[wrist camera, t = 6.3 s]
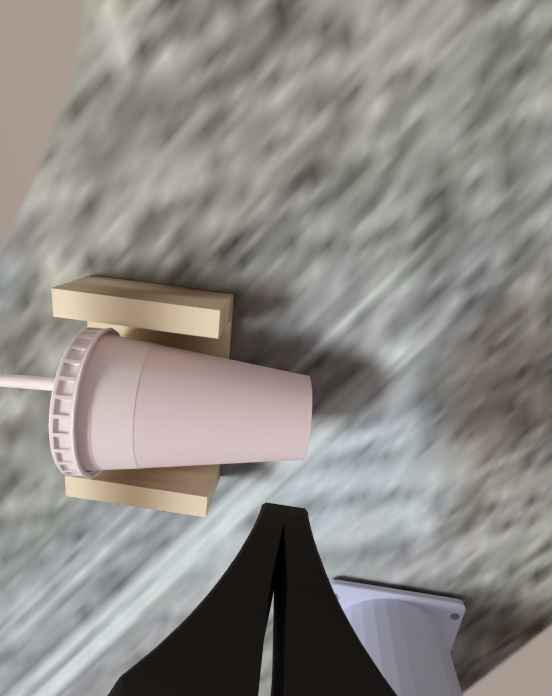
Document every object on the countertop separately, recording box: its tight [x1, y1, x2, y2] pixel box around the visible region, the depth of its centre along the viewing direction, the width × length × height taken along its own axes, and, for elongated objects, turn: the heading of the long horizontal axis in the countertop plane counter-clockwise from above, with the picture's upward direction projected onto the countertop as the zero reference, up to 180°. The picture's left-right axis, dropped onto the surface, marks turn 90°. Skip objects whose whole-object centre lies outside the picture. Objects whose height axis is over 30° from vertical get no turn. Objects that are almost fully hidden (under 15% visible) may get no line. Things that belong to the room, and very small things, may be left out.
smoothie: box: [0, 327, 312, 479], centre depth 18 cm, size 6×6×14 cm
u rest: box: [52, 275, 234, 517], centre depth 20 cm, size 7×10×3 cm
